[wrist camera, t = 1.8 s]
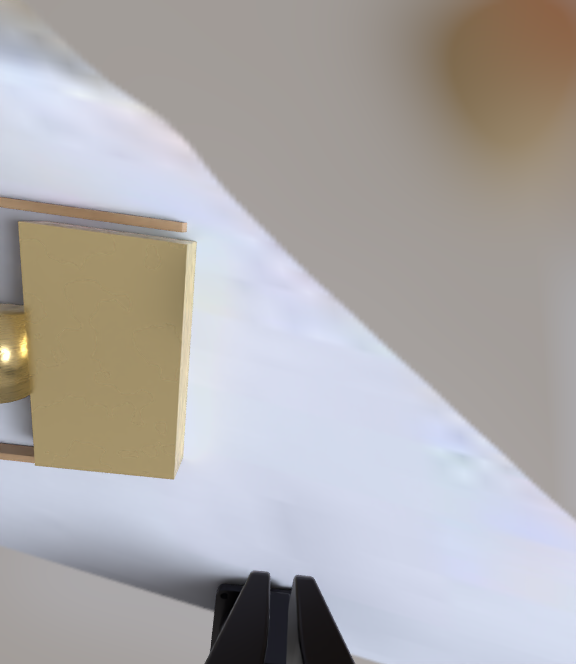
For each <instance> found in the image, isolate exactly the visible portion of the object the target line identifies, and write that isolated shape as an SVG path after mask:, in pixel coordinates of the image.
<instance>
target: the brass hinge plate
mask: <svg viewBox="0 0 576 664" xmlns="http://www.w3.org/2000/svg"><path fill="white" fill-rule="evenodd" d="M18 229H19V243H20V258H21V272H22V286H23V300H24V305H14V304H0V404H1V403H8V402H13V401H17V400H20V399H22V398H25V397H27V396H29V395H30V400H31V415H32V429H33V443H34V458H35V466H45V467H55V468H65V469H75V470H85V471H95V472H105V473H115V474H124V475H134V476H144V477H154V478H164V479H174V478H175V476H176V473H177V471H178V468H179V466H180V464H181V461H182V459H183V449H184V434H185V418H186V402H187V387H188V371H189V355H190V340H191V324H192V308H193V293H194V277H195V261H196V246H197V242H194V241H187V240H180V239H172V238H165V237H158V236H151V235H144V234H136V233H129V232H122V231H115V230H107V229H100V228H93V227H86V226H79V225H71V224H64V223H57V222H50V221H18Z"/></svg>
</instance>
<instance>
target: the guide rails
mask: <svg viewBox="0 0 576 664" xmlns="http://www.w3.org/2000/svg"><path fill="white" fill-rule="evenodd" d="M0 207H4V208H11V209H18V210H25V211H32V212H40V213H47V214H54V215H61V216H68V217H75V218H83V219H90V220H97V221H104V222H111V223H118V224H126V225H133V226H140V227H147V228H154V229H162V230H169V231H176V232H186V230H187V223H183V222H176V221H169V220H162V219H155V218H148V217H141V216H133V215H126V214H119V213H112V212H105V211H98V210H91V209H84V208H76V207H69V206H62V205H55V204H48V203H41V202H34V201H27V200H19V199H12V198H5V197H0ZM0 459H3V460H12V461H21V462H30V463H35V458H34V447H30V446H21V445H12V444H3V443H0Z"/></svg>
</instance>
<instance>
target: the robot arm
mask: <svg viewBox="0 0 576 664" xmlns="http://www.w3.org/2000/svg"><path fill="white" fill-rule="evenodd" d="M205 664H355V662H354V660H353V658H352V656H351V654H350V652H349V650H348V648H347V646H346V644H345V642H344V640H343V637H342V635H341V633H340V631H339V629H338V627H337V625H336V623H335V621H334V619H333V617H332V615H331V612H330V610H329V608H328V606H327V604H326V602H325V600H324V598H323V596H322V594H321V592H320V590H319V587H318V585H317V583H316V581H315V579H314V578H313V577H311V576H303V575H296V576H295V577H294V579H293V585H292V590H291V591H288V590H278V589H270V573H269V572H264V571H252V572H251V573H250V575H249V577H248V579H247V581H246V583H245V585H244V586H239V585H230V584H222V585H220V586H219V587H218V589H217V594H216V603H215V612H214V621H213V631H212V640H211V649H210V654H209V656H208V658H207V660H206V662H205Z"/></svg>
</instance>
